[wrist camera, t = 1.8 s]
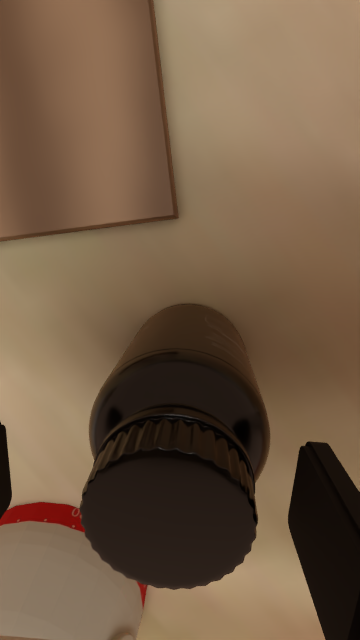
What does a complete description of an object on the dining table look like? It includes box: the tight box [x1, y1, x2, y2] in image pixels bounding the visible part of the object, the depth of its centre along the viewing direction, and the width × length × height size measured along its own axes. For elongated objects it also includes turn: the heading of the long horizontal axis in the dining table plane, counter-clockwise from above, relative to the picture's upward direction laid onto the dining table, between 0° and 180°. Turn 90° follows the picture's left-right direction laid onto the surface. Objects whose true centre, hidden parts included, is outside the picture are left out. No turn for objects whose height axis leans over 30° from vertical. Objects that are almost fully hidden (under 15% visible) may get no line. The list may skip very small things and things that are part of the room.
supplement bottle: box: [79, 304, 270, 590], centre depth 14 cm, size 7×7×12 cm
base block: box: [0, 0, 178, 241], centre depth 16 cm, size 12×12×3 cm
